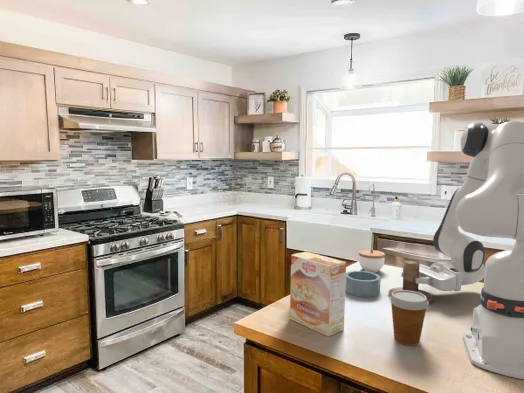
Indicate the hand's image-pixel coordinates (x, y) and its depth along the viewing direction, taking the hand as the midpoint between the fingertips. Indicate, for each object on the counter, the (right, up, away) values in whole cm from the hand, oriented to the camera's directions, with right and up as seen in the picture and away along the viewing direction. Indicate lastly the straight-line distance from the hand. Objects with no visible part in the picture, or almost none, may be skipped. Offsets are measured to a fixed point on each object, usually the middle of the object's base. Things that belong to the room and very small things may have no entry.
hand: (408, 277), depth 131 cm
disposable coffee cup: (-12, -10, -30) cm, 34 cm away
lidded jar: (-4, -4, +33) cm, 33 cm away
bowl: (-14, -6, +7) cm, 17 cm away
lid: (+1, -7, +1) cm, 7 cm away
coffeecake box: (-35, -9, -21) cm, 41 cm away
